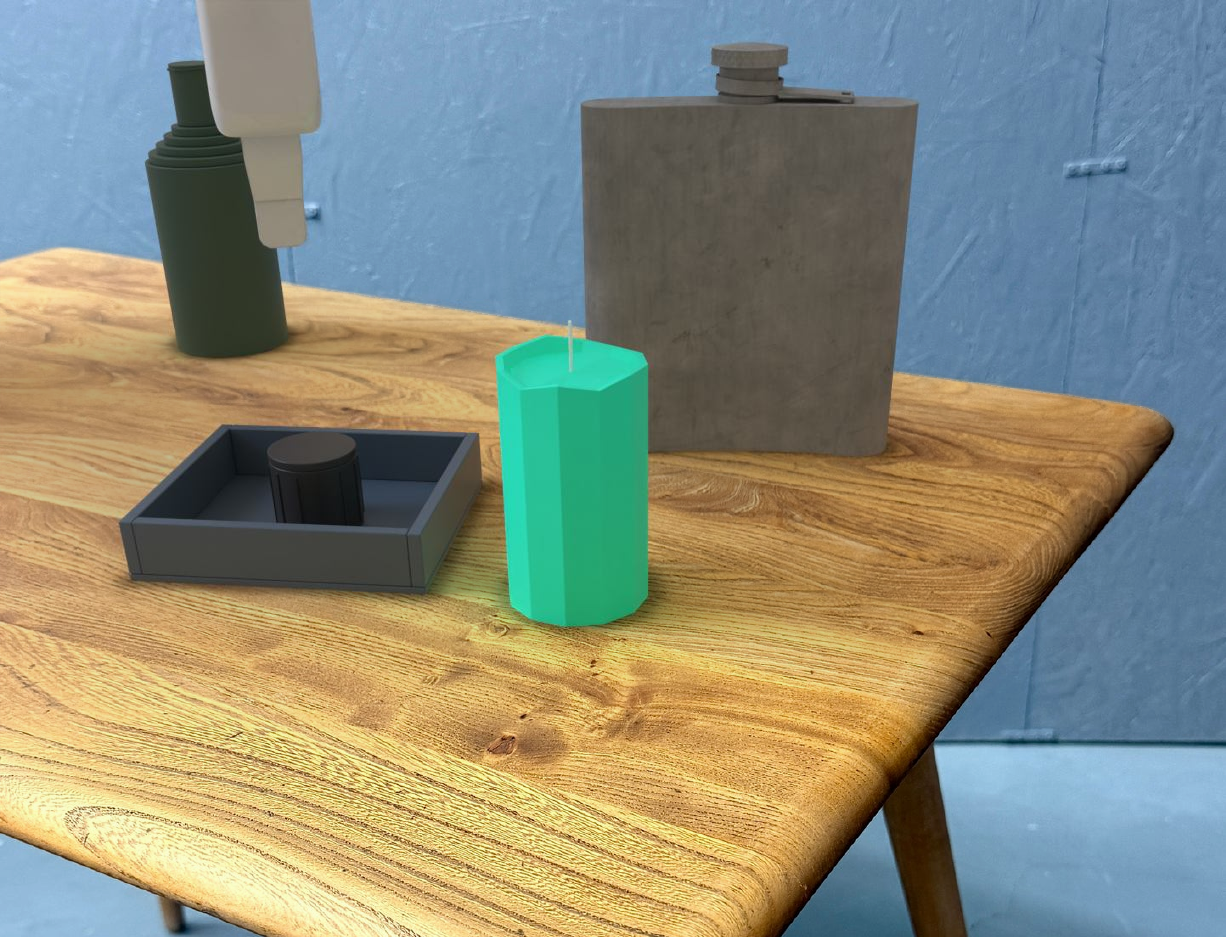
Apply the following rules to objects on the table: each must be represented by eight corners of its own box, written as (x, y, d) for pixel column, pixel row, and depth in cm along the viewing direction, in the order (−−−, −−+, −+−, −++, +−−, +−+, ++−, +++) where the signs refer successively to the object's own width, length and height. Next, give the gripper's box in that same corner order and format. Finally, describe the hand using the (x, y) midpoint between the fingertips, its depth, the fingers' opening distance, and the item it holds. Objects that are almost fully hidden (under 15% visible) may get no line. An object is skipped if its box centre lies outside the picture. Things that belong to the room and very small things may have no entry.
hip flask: (585, 458, 69) (576, 49, 60) (591, 430, 73) (583, 40, 63) (889, 461, 68) (929, 46, 59) (880, 433, 72) (916, 38, 62)
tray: (131, 586, 57) (117, 521, 56) (231, 480, 67) (221, 423, 66) (426, 600, 56) (420, 534, 54) (483, 490, 66) (479, 432, 64)
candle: (489, 580, 57) (471, 309, 51) (617, 556, 59) (613, 292, 53) (534, 644, 52) (519, 353, 47) (671, 615, 54) (674, 332, 48)
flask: (160, 360, 85) (106, 70, 76) (203, 328, 91) (158, 56, 83) (267, 363, 84) (224, 70, 76) (303, 330, 90) (268, 56, 82)
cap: (368, 504, 63) (360, 430, 61) (359, 539, 60) (350, 462, 58) (286, 507, 63) (275, 432, 61) (271, 543, 59) (259, 465, 58)
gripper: (337, -181, 40) (380, 274, 47) (304, -159, 57) (339, 169, 64) (119, -181, 39) (196, 287, 45) (153, -159, 56) (205, 177, 63)
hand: (280, 217), depth 55 cm, fingers open, 8 cm apart
